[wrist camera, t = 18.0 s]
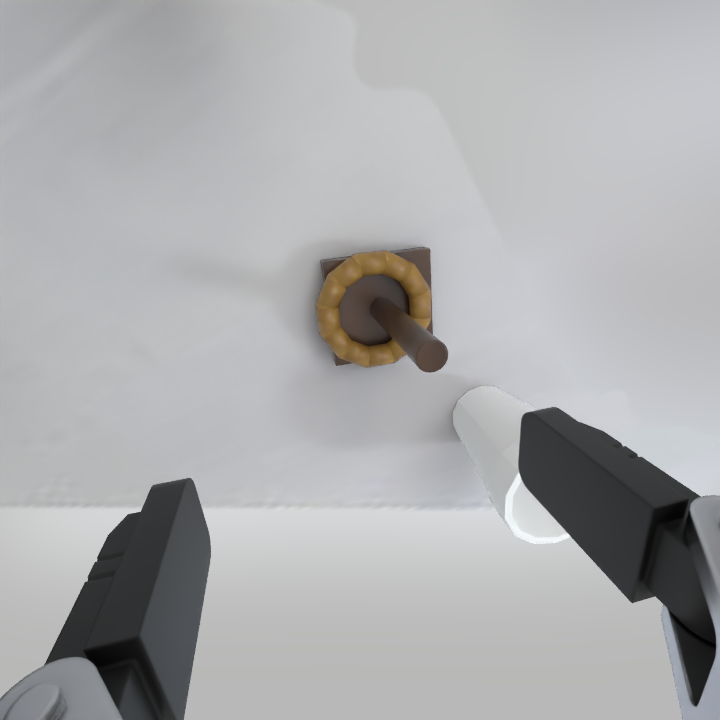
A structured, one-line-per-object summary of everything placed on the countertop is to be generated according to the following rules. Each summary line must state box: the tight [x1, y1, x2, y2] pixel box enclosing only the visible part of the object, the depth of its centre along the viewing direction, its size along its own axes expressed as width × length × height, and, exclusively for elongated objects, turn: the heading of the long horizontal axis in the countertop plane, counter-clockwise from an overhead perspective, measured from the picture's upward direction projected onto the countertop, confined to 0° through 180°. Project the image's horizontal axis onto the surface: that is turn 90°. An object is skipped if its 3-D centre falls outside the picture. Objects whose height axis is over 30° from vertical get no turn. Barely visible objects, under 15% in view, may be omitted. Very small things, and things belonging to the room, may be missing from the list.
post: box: [321, 247, 448, 372], centre depth 29 cm, size 9×9×14 cm
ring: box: [316, 250, 431, 367], centre depth 33 cm, size 10×10×2 cm
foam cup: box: [453, 386, 571, 544], centre depth 36 cm, size 10×9×13 cm
